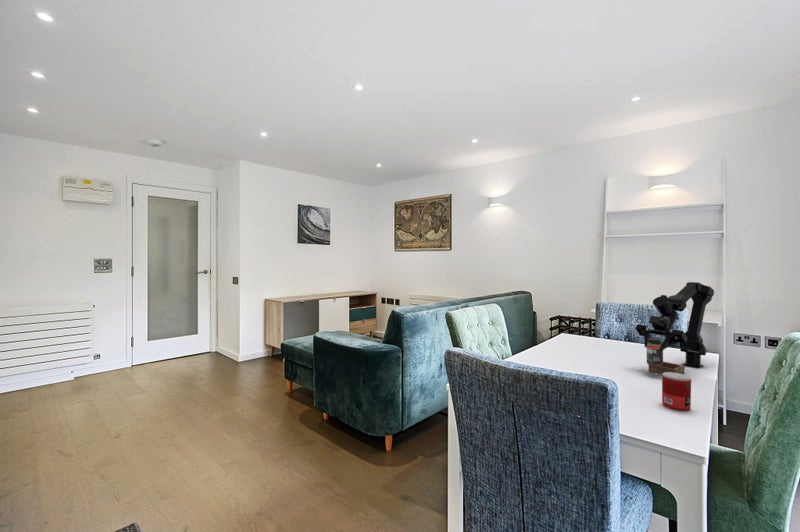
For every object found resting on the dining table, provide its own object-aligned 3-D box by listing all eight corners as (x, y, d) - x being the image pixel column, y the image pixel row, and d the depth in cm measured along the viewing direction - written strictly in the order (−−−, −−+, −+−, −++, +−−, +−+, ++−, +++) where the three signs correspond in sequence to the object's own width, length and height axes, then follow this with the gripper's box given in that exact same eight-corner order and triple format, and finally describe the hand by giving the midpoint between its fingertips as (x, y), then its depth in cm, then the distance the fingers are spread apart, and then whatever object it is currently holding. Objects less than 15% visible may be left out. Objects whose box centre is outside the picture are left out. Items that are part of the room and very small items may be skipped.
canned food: (692, 413, 123) (692, 380, 122) (662, 408, 127) (663, 376, 127) (688, 405, 129) (689, 374, 129) (661, 400, 133) (661, 370, 133)
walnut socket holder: (657, 367, 173) (657, 360, 173) (684, 373, 164) (684, 365, 164) (648, 371, 167) (648, 364, 167) (675, 378, 158) (675, 370, 158)
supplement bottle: (657, 362, 163) (658, 337, 163) (666, 366, 157) (666, 340, 157) (643, 362, 163) (643, 337, 163) (651, 366, 157) (651, 340, 157)
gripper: (637, 306, 170) (623, 333, 165) (684, 311, 153) (670, 341, 148) (646, 321, 174) (633, 348, 169) (693, 328, 157) (680, 357, 152)
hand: (652, 348), depth 159 cm, fingers closed on supplement bottle, 6 cm apart
